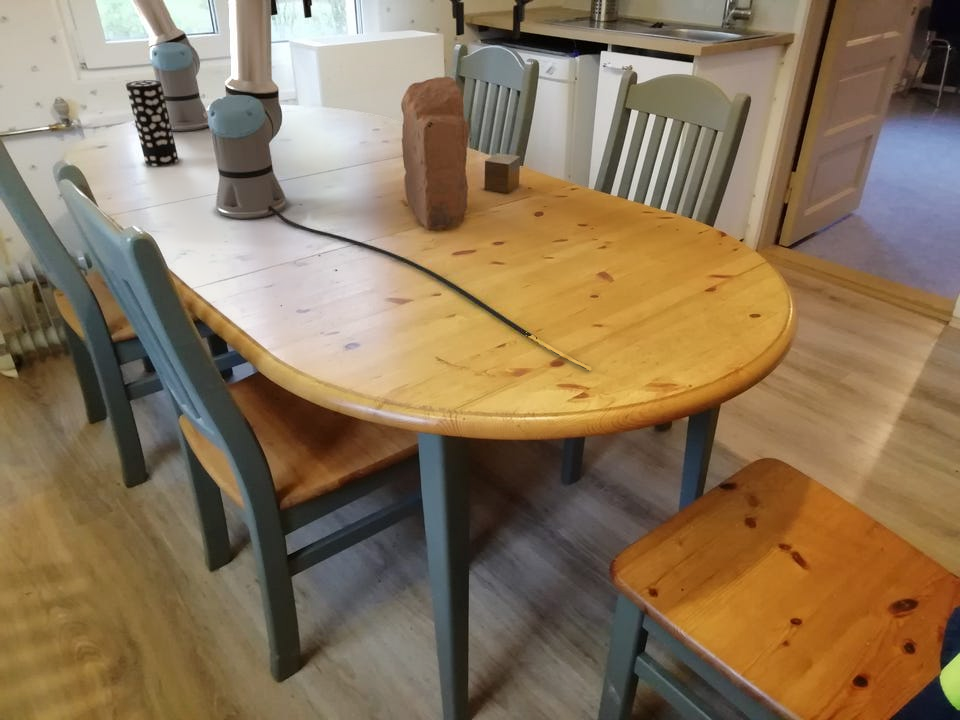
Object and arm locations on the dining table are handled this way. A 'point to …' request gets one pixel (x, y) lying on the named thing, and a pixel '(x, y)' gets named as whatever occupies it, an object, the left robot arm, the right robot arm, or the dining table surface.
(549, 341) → the dining table surface
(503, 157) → the metallic grey cube
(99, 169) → the dining table surface
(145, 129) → the black white spotted cylinder
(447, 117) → the stone
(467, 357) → the dining table surface
